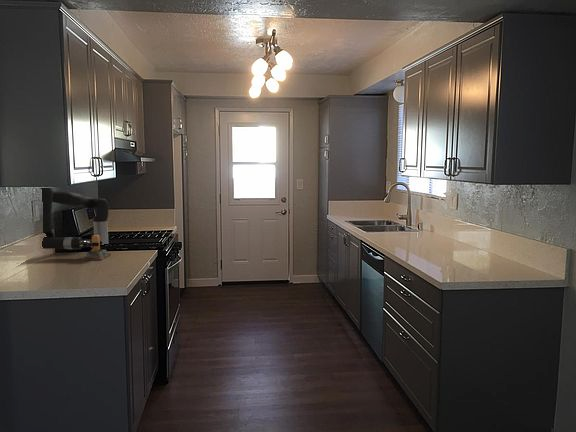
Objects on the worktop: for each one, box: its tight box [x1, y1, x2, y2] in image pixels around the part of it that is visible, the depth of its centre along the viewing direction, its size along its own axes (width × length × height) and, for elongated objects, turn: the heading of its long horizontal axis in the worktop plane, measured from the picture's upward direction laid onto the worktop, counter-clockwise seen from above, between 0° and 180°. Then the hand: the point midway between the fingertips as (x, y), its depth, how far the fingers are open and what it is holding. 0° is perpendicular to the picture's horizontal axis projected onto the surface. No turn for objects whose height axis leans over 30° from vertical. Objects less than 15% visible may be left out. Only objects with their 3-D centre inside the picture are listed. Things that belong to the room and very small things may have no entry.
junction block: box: [81, 249, 112, 261], centre depth 295 cm, size 15×12×4 cm
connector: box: [91, 234, 101, 252], centre depth 294 cm, size 4×4×12 cm
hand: (100, 243), depth 294 cm, fingers closed on connector, 4 cm apart
